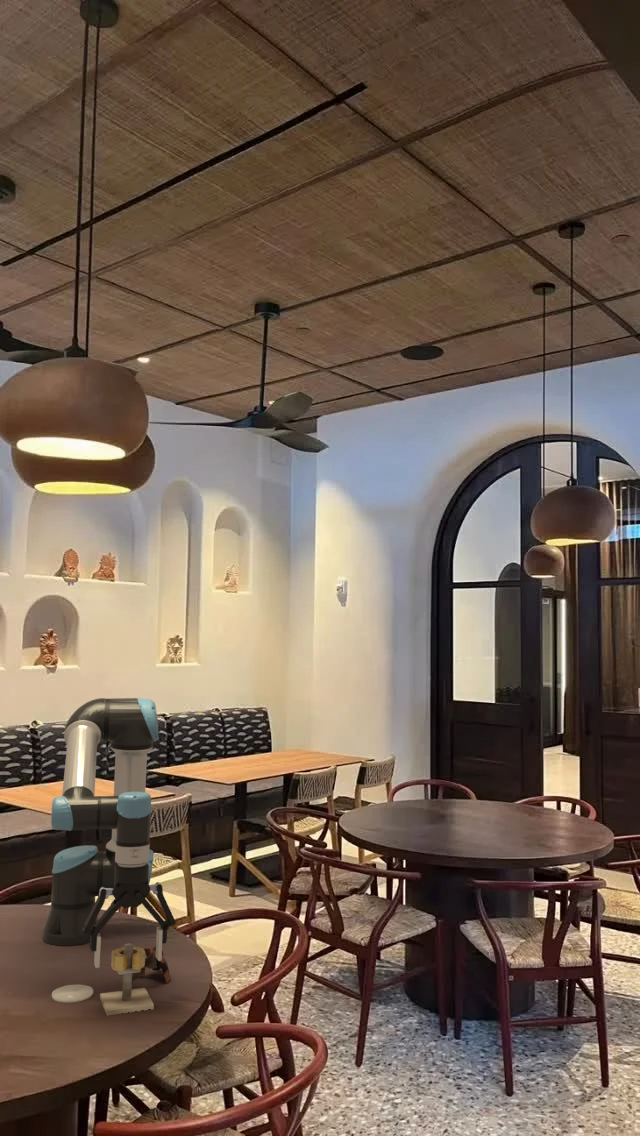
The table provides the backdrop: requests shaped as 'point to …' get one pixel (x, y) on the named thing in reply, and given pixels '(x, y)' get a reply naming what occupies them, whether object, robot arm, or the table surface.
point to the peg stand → (126, 992)
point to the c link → (121, 960)
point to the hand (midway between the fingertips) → (128, 962)
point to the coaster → (72, 993)
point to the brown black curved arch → (154, 964)
